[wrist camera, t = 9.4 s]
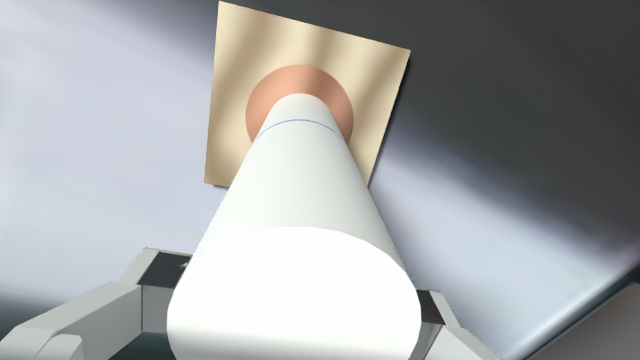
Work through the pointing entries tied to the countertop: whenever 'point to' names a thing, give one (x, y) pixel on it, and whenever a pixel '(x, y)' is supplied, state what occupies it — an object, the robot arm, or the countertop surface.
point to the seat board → (295, 84)
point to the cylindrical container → (296, 257)
